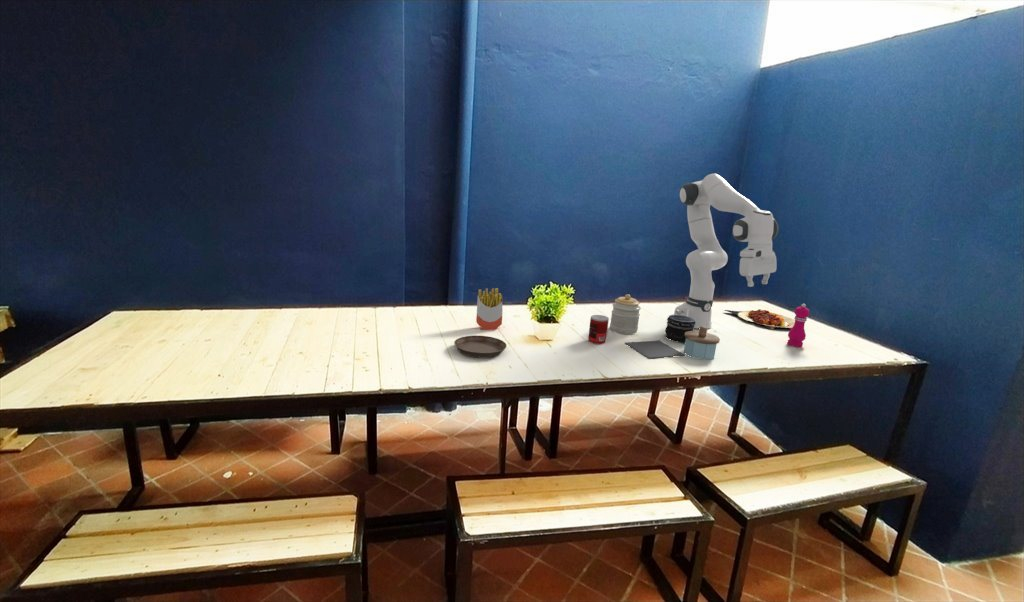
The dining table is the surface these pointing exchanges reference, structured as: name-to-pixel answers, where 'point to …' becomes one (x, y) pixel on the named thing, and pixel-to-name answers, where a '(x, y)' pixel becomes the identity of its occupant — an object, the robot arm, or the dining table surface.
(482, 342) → the plant saucer
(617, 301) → the jar
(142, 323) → the dining table surface
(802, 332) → the pepper mill
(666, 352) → the mat
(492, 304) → the french fries container
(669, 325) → the container
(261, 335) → the dining table surface
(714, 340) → the lid
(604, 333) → the canned food
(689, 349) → the bowl
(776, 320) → the plate of food
